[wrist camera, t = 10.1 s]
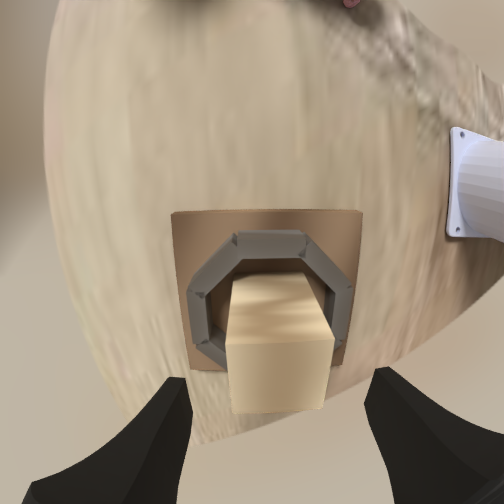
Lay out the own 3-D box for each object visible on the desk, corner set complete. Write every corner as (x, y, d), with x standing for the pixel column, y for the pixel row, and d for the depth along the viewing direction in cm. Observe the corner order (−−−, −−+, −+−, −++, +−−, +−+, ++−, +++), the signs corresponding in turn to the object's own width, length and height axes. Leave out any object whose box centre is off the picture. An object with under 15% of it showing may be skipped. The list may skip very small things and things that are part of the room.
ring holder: (356, 210, 16) (377, 219, 13) (338, 356, 20) (349, 382, 17) (175, 211, 16) (160, 221, 13) (192, 361, 19) (185, 388, 17)
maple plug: (302, 271, 16) (335, 338, 10) (299, 328, 17) (322, 408, 11) (234, 273, 16) (225, 344, 10) (237, 330, 17) (232, 413, 11)
